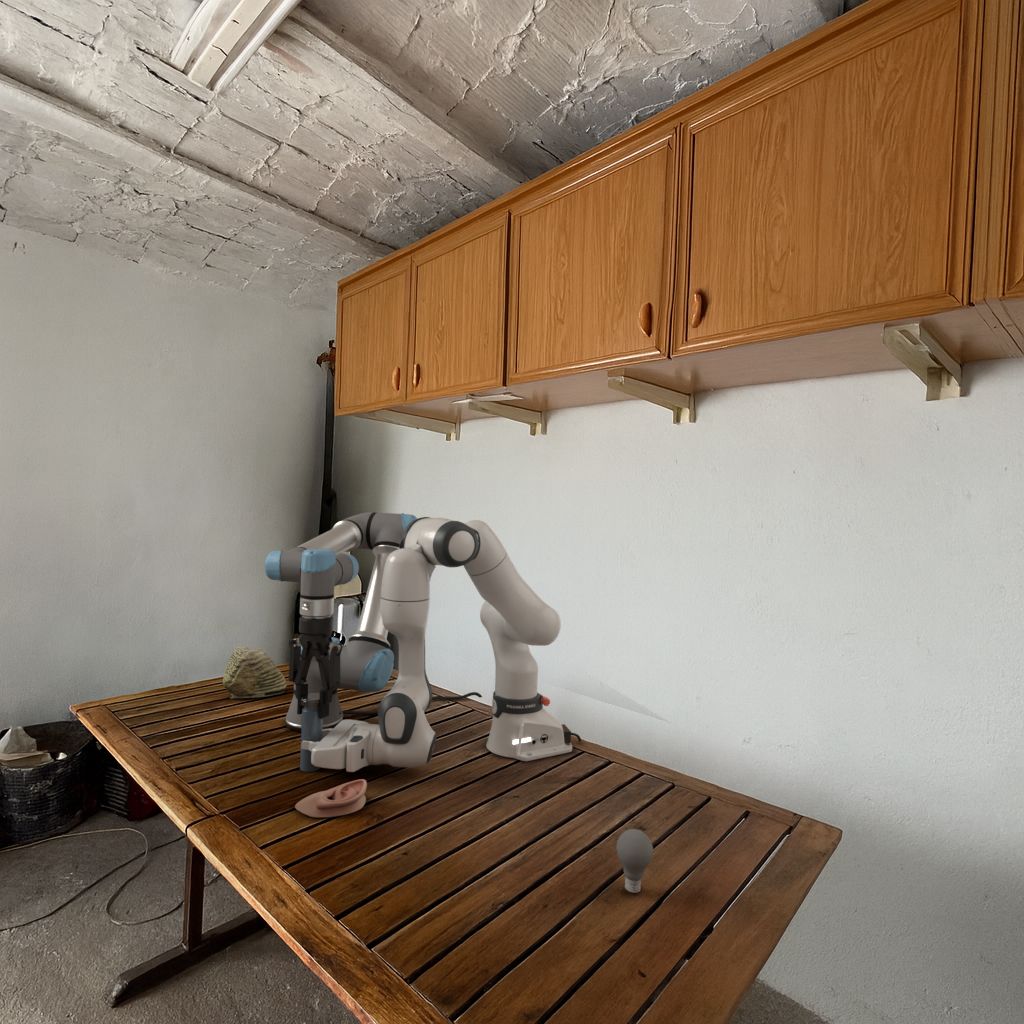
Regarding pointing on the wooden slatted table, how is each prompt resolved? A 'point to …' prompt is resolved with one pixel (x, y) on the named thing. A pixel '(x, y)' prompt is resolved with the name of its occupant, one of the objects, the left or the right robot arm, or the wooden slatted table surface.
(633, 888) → the light bulb
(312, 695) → the lid
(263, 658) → the fossil
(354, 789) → the anatomical model
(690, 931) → the wooden slatted table surface
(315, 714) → the jar
